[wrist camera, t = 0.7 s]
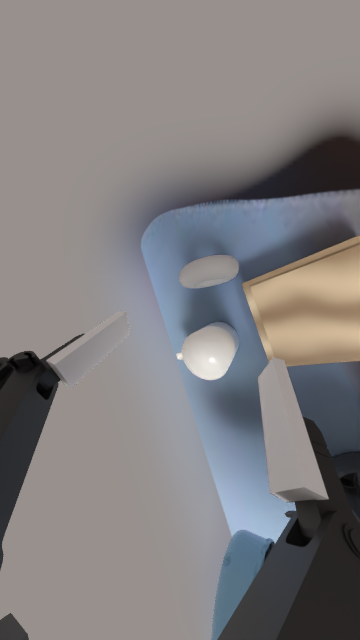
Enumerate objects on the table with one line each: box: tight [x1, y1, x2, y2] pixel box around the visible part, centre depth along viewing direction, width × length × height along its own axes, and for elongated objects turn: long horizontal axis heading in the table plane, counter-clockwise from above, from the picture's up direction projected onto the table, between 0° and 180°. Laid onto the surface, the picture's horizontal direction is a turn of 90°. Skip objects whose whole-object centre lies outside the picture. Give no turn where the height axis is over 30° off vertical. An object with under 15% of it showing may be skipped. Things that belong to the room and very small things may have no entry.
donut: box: [179, 255, 239, 289], centre depth 23 cm, size 10×3×10 cm, turn 102°
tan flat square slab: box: [242, 235, 360, 366], centre depth 19 cm, size 14×14×4 cm
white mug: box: [176, 322, 239, 380], centre depth 26 cm, size 8×11×9 cm
